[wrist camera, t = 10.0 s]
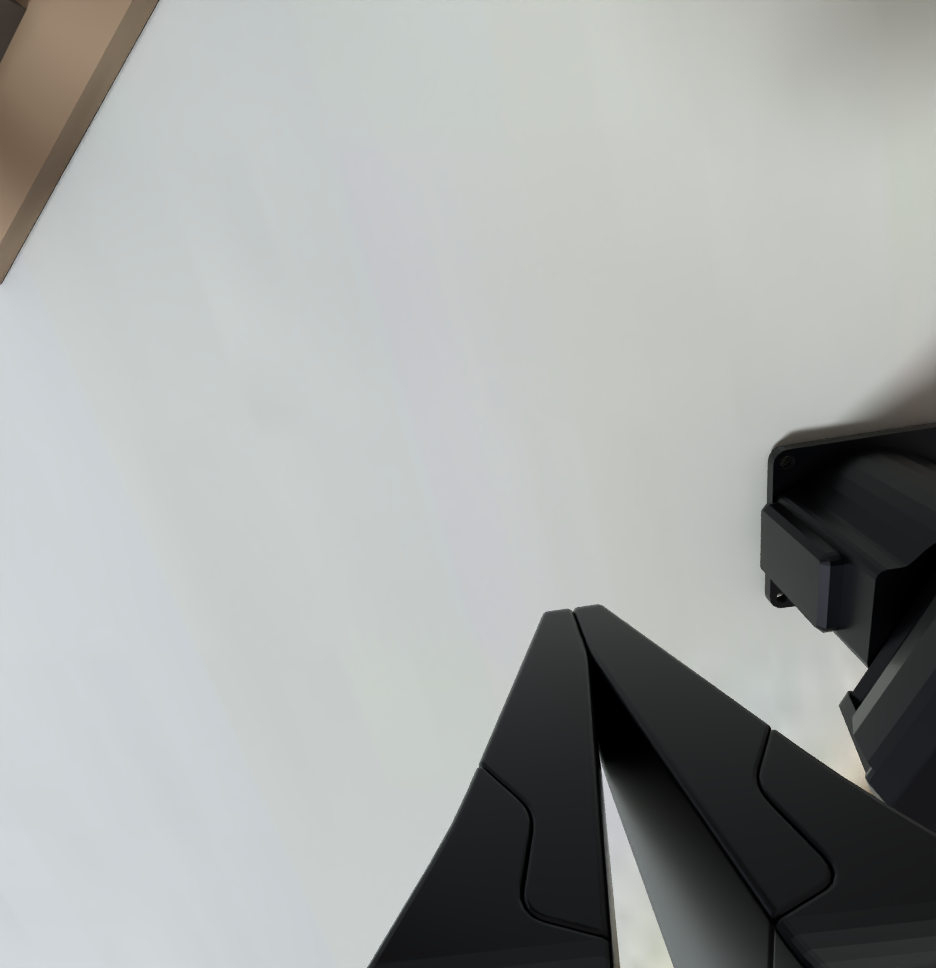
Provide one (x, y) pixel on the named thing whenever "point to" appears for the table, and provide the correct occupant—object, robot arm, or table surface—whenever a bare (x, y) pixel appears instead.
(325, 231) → the table surface
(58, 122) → the button stand
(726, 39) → the table surface
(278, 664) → the table surface
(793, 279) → the table surface
